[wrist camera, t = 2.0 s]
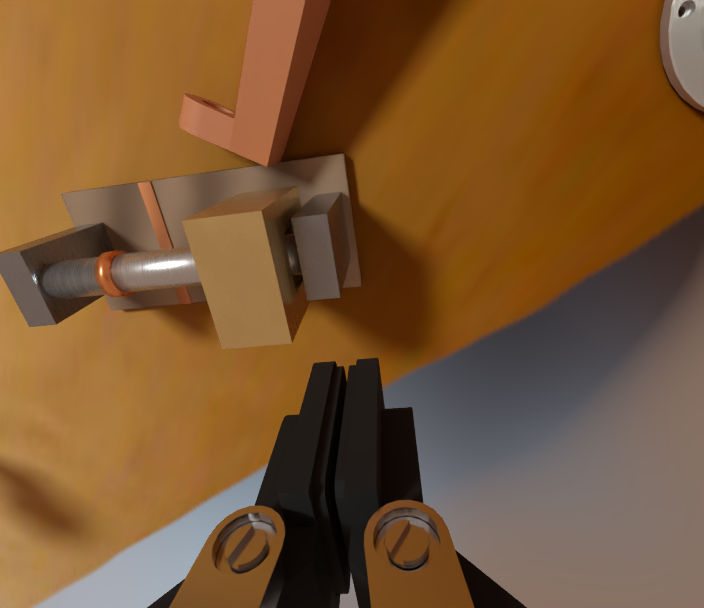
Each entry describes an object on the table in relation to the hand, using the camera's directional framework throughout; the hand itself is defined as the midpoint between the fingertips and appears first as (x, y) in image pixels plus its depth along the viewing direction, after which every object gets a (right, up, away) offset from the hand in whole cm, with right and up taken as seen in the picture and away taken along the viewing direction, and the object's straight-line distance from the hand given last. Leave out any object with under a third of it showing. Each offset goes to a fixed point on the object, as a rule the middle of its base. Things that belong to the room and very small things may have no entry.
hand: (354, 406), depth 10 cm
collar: (-5, +7, +17) cm, 19 cm away
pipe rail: (-11, +8, +21) cm, 25 cm away
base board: (-11, +8, +21) cm, 25 cm away
